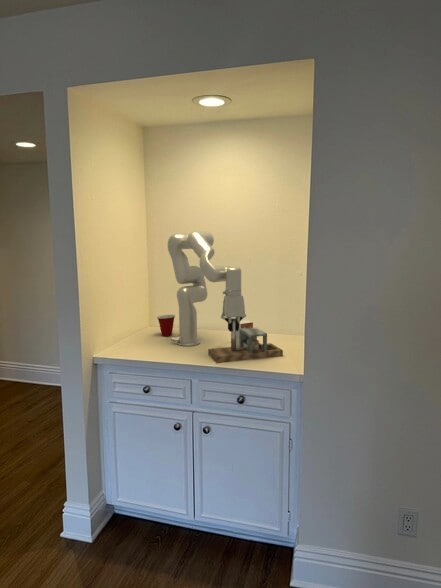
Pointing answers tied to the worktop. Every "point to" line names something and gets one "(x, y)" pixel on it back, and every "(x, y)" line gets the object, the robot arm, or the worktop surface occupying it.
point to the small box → (241, 326)
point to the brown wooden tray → (238, 355)
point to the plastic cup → (166, 324)
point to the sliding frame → (233, 338)
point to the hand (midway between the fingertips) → (233, 330)
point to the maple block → (255, 344)
